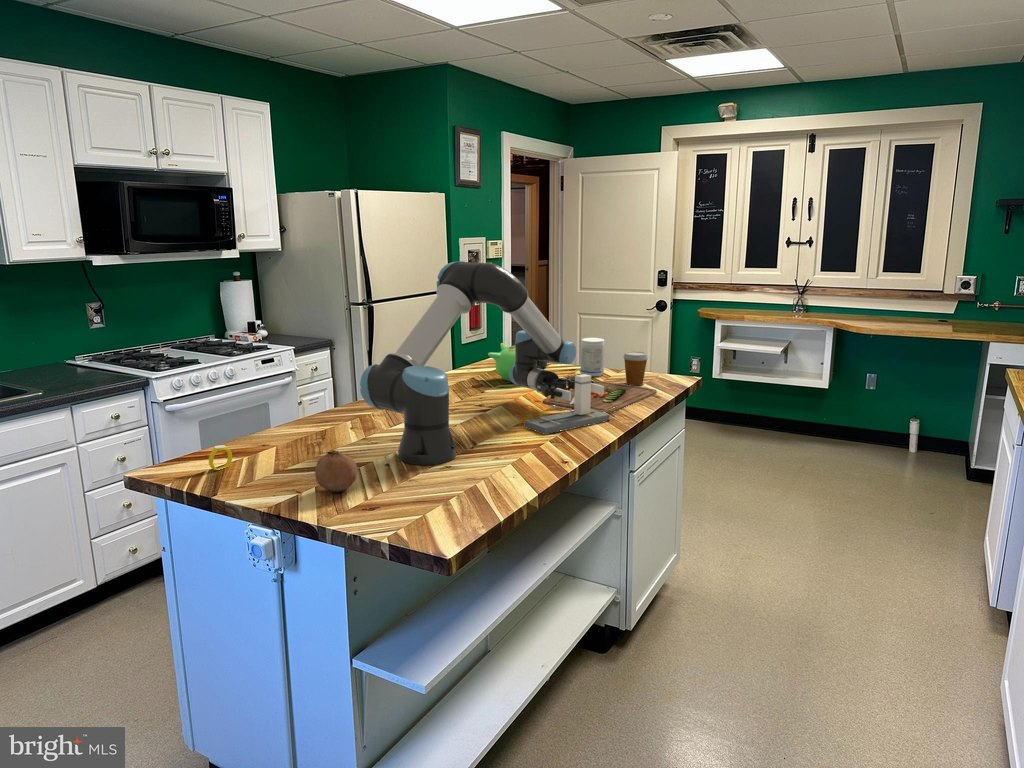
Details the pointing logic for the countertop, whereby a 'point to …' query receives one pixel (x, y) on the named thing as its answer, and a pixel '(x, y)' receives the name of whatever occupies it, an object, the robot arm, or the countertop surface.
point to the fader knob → (582, 394)
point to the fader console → (564, 421)
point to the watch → (216, 449)
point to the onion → (336, 471)
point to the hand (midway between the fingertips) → (587, 393)
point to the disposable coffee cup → (635, 367)
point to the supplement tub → (592, 356)
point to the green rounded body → (504, 360)
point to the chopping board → (607, 397)
